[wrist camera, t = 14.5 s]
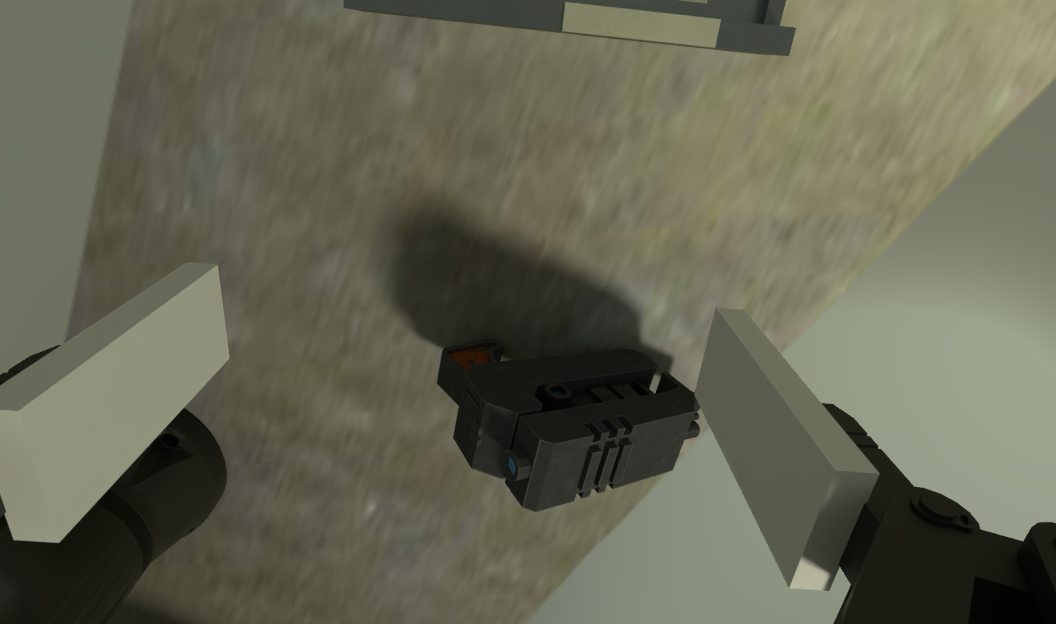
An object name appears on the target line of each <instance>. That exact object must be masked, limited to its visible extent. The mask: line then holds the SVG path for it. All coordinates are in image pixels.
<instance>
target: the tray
mask: <svg viewBox="0 0 1056 624" xmlns="http://www.w3.org/2000/svg"><path fill="white" fill-rule="evenodd" d="M785 2H786V0H344V8H349V9H354V10H359V11H364V12H373V13H382V14H391V15H401V16H410V17H419V18H428V19H438V20H447V21H456V22H465V23H474V24H484V25H493V26H502V27H511V28H520V29H530V30H539V31H548V32H557V33H567V34H576V35H585V36H594V37H603V38H613V39H622V40H631V41H640V42H650V43H659V44H668V45H677V46H686V47H696V48H705V49H714V50H723V51H732V52H742V53H751V54H762V55H781V56H789V53H790V49H791V45H792V41H793V38H794V34H795V30H796V28H793V27H784V26H780V22H781V18H782V14H783V10H784V6H785Z"/></svg>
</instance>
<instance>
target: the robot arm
mask: <svg viewBox="0 0 1056 624" xmlns="http://www.w3.org/2000/svg"><path fill="white" fill-rule="evenodd" d="M228 359H229V350H228V343H227V335H226V327H225V319H224V311H223V304H222V296H221V288H220V280H219V272H218V265H213V264H202V263H190V262H187V263H185V264H184V265H182V266H181V267H179V268H178V269H176V270H175V271H173V272H172V273H170V274H169V275H167V276H166V277H164V278H162V279H161V280H159V281H158V282H156V283H155V284H153V285H152V286H150V287H149V288H147V289H146V290H144V291H143V292H141V293H140V294H138V295H137V296H135V297H134V298H132V299H131V300H129V301H128V302H126V303H125V304H123V305H122V306H120V307H118V308H117V309H115V310H114V311H112V312H111V313H109V314H108V315H106V316H105V317H103V318H102V319H100V320H99V321H97V322H96V323H94V324H93V325H91V326H90V327H88V328H87V329H85V330H84V331H82V332H81V333H79V334H78V335H76V336H74V337H73V338H71V339H70V340H68V341H67V342H65V343H64V344H62V345H58V346H55V347H53V348H50V349H47V350H45V351H42V352H40V353H37V354H34V355H32V356H30V357H28V358H26V359H25V360H23V361H22V362H20V363H19V364H17V365H15V366H14V367H12V368H11V369H9V371H8V373H3V374H1V375H0V624H108V622H109V621H110V620H111V618H112V617H113V615H114V614H115V612H116V611H117V610H118V608H119V607H120V605H121V604H122V602H123V601H124V600H125V598H126V597H127V595H128V594H129V592H130V591H131V589H132V588H133V587H134V585H135V584H136V582H137V581H138V580H139V578H140V577H141V575H142V574H143V573H144V571H145V570H146V568H147V567H148V566H149V564H150V563H151V562H152V561H153V560H155V559H156V558H157V557H158V556H160V555H161V554H162V553H163V552H165V551H166V550H167V549H168V548H170V547H171V546H172V545H174V544H175V543H176V542H177V541H178V540H180V539H181V538H183V537H185V536H187V535H188V534H190V533H191V532H192V531H194V530H195V529H196V528H198V527H199V526H200V525H201V524H202V523H203V522H204V521H205V520H206V519H207V518H208V516H209V515H210V513H211V512H212V510H213V509H214V507H215V506H216V504H217V503H218V501H219V500H220V498H221V496H222V494H223V492H224V489H225V485H226V478H227V472H226V465H225V461H224V457H223V455H222V452H221V450H220V448H219V446H218V444H217V443H216V441H215V440H214V438H213V437H212V435H211V434H210V433H209V432H208V431H207V429H206V428H205V427H204V426H203V425H202V424H201V423H200V422H199V421H197V420H196V419H195V418H194V417H193V416H191V415H190V414H189V413H187V412H186V411H184V410H183V408H184V407H185V406H186V405H187V404H188V403H189V402H190V400H191V399H192V398H193V397H194V396H195V395H196V394H197V393H198V392H199V391H200V390H201V389H202V387H203V386H204V385H205V384H206V383H207V382H208V381H209V380H210V379H211V378H212V377H213V376H214V374H215V373H216V372H217V371H218V370H219V369H220V368H221V367H222V366H223V365H224V364H225V363H226V361H227V360H228ZM694 395H695V397H696V399H697V401H698V403H699V405H700V407H701V409H702V411H703V413H704V416H705V418H706V420H707V422H708V424H709V426H710V428H711V430H712V432H713V434H714V436H715V438H716V440H717V442H718V444H719V446H720V448H721V450H722V452H723V454H724V456H725V458H726V460H727V462H728V464H729V466H730V469H731V470H732V472H733V474H734V477H735V478H736V481H737V483H738V485H739V487H740V489H741V491H742V493H743V495H744V497H745V499H746V501H747V503H748V505H749V507H750V509H751V511H752V513H753V515H754V517H755V519H756V522H757V523H758V526H759V528H760V530H761V532H762V534H763V536H764V538H765V540H766V542H767V544H768V546H769V548H770V550H771V552H772V554H773V556H774V558H775V560H776V562H777V564H778V566H779V568H780V571H781V573H782V575H783V577H784V579H785V581H786V583H787V585H788V587H789V588H793V589H808V590H825V591H829V590H830V587H831V585H832V583H833V581H834V578H835V576H836V574H837V571H838V569H839V567H841V569H842V571H843V572H844V574H845V576H846V577H847V579H848V581H849V582H850V584H851V586H850V589H849V591H848V593H847V595H846V597H845V599H844V602H843V604H842V606H841V608H840V611H839V613H838V615H837V617H836V619H835V622H834V624H1056V523H1053V522H1042V523H1041V522H1040V523H1037V524H1036V525H1034V526H1033V527H1031V529H1030V531H1029V533H1028V534H1027V536H1026V538H1025V539H1024V541H1019V540H1016V539H1013V538H1009V537H1005V536H1001V535H998V534H995V533H991V532H987V531H984V530H981V529H980V526H979V523H978V522H977V521H976V520H975V518H974V517H973V516H972V515H971V513H970V512H968V511H967V510H966V509H964V508H963V507H962V506H960V505H959V504H958V503H957V502H955V501H953V500H951V499H949V498H947V497H945V496H944V495H942V494H940V493H937V492H934V491H931V490H928V489H925V488H920V487H914V486H913V485H912V484H911V483H910V481H909V480H908V479H907V478H906V477H905V476H904V475H903V474H902V472H901V471H900V470H899V469H898V468H897V467H896V466H895V464H894V463H893V462H892V461H891V460H890V459H889V458H888V457H887V455H886V454H885V453H884V452H883V451H882V450H881V449H878V445H877V444H876V443H875V442H874V441H873V440H872V438H871V437H870V436H867V433H866V432H865V430H864V429H863V428H862V427H861V426H860V425H859V424H858V422H857V421H856V420H855V419H854V418H853V417H851V416H850V415H848V414H847V413H845V412H844V411H842V410H841V409H839V408H838V407H836V406H835V405H834V404H825V403H821V402H820V401H819V400H818V399H817V398H816V396H815V395H814V394H813V393H812V392H811V390H810V389H809V388H808V387H807V386H806V384H805V383H804V382H803V381H802V380H801V378H800V377H799V376H798V375H797V373H796V372H795V371H794V370H793V369H792V368H791V366H790V365H789V364H788V363H787V362H786V360H785V359H784V358H783V357H782V355H781V354H780V353H779V352H778V351H777V349H776V348H775V347H774V346H773V344H772V343H771V342H770V341H769V340H768V338H767V337H766V336H765V335H764V334H763V332H762V331H761V330H760V329H759V328H758V326H757V325H756V324H755V323H754V322H753V320H752V319H751V318H750V317H749V316H748V314H747V313H746V312H745V311H744V310H738V309H726V308H716V310H715V314H714V318H713V322H712V326H711V330H710V334H709V338H708V342H707V346H706V350H705V354H704V358H703V362H702V366H701V370H700V374H699V378H698V382H697V386H696V390H695V394H694Z"/></svg>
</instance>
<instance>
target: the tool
mask: <svg viewBox="0 0 1056 624" xmlns="http://www.w3.org/2000/svg"><path fill="white" fill-rule="evenodd" d="M502 351H503V346H502V345H501V344H500V343H499V342H498V341H497V340H496V339H489V340H484V341H479V342H473V343H468V344H463V345H458V346H453V347H447V348H444V349H443V351H442V356H441V362H440V368H439V374H438V380H437V384H438V385H439V386H440V387H441V388H442V389H443V390H444V391H445V392H446V393H447V394H448V395H449V396H450V397H451V398H452V399H453V400H454V401H455V402H456V403H457V404H458V405H459V409H458V415H457V420H456V425H455V431H454V436H453V438H454V440H455V442H456V443H457V445H458V447H459V448H460V450H461V452H462V453H463V455H464V457H465V458H466V460H467V462H468V463H469V465H470V467H471V468H472V469H475V470H478V471H480V472H483V473H486V474H489V475H492V476H495V477H497V478H500V479H505V478H506V480H505V483H506V485H507V486H508V488H509V489H510V491H511V492H512V493H513V495H514V496H515V498H516V499H517V501H518V502H519V503H520V505H521V506H522V507H523V508H526V509H528V510H531V511H534V512H537V511H541V510H544V509H548V508H551V507H555V506H558V505H562V504H565V503H569V502H573V501H574V500H575V497H576V494H579V496H580V497H581V498H585V497H589V496H590V493H591V490H592V489H595V490H596V492H597V493H602V492H605V489H606V486H607V484H609V486H610V487H611V488H612V489H614V488H618V487H621V486H624V485H627V484H630V483H634V482H637V481H640V480H643V479H646V478H650V477H653V476H656V475H659V474H662V473H666V472H669V471H672V470H673V468H674V465H675V463H676V460H677V458H678V455H679V452H680V450H681V447H682V445H683V442H684V440H685V439H690V438H694V437H697V436H698V435H699V432H700V427H699V425H698V424H697V423H696V422H695V421H693V420H697V419H699V414H698V413H697V412H698V410H699V409H700V405H699V403H698V401H697V399H696V397H695V395H694V394H695V393H694V392H692V391H690V390H689V389H688V388H686V387H685V386H684V385H683V384H681V383H680V382H679V381H678V380H676V379H675V378H674V377H673V376H671V375H670V374H669V373H668V372H663V373H662V376H661V379H660V382H659V385H658V388H657V390H656V393H655V394H654V393H653V392H652V391H651V390H650V389H649V388H650V385H651V382H652V379H653V376H654V373H655V370H656V367H657V364H656V363H655V362H653V361H652V360H650V359H649V358H648V357H646V356H645V355H644V354H642V353H640V352H637V351H633V350H630V349H627V350H616V351H606V352H595V353H584V354H574V355H563V356H553V357H542V358H532V359H521V360H510V361H500V360H501V355H502Z"/></svg>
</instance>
